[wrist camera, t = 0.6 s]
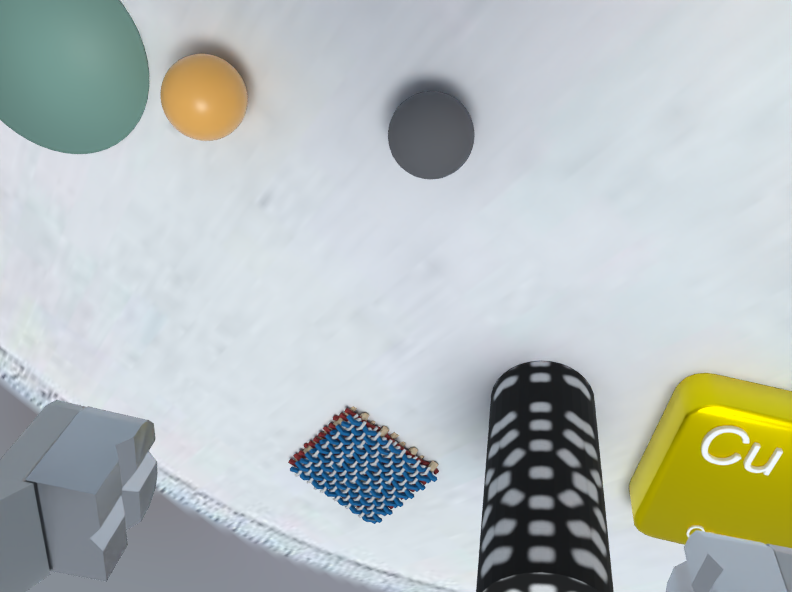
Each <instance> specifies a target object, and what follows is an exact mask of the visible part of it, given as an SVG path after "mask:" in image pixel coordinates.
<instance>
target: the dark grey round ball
mask: <svg viewBox="0 0 792 592" xmlns="http://www.w3.org/2000/svg"><path fill="white" fill-rule="evenodd" d="M388 140H389V146H390V150H391V153H392V155H393V157H394V158H395V160H396V161H397V163H398V164H399V165H400V166H401V167H402V168H403V169H404V170H405V171H407V172H408V173H410V174H412V175H414V176H416V177H419V178H423V179H439V178H443V177H446V176H448V175H450V174H452V173H454V172H455V171H457V170H458V169H459V168H460V167H461V166H462V165H463V164H464V163H465V161H466V160H467V159H468V157H469V155H470V153H471V150H472V147H473V144H474V126H473V122H472V119H471V117H470V115H469V113H468V111H467V110H466V108H465V107H464V106H463V105H462V104H461V103H460V102H459V101H458V100H457V99H455V98H454V97H452V96H450V95H448V94H445V93H442V92H436V91H427V92H421V93H418V94H415V95H413V96H411V97H410V98H408V99H406V100H405V101H404V102H403V103H402V104H401V105H400V106H399V107H398V108H397V110H396V111H395V113H394V114H393V116H392V119H391V122H390V125H389V130H388Z"/></svg>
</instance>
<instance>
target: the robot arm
mask: <svg viewBox="0 0 792 592" xmlns="http://www.w3.org/2000/svg"><path fill="white" fill-rule="evenodd" d="M154 441H155V432H154V423H152V422H150V421H149V420H145V419H141V418H136V417H132V416H128V415H123V414H119V413H114V412H110V411H106V410H101V409H97V408H93V407H85V406H81V405H76V404H72V403H68V402H63V401H59V400H56V401H54V402H52V403H50V404H48V405H46V406H45V407H44V409H43V410H42V411H41V412H40V413H39V414H38V416H37V417H36V418H35V419H34V420H33V422H32V423H31V424H30V425H29V426H28V427H27V428H26V430H25V431H24V432H23V433H22V434H21V435H20V437H19V438H18V439H17V440H16V441H15V443H14V444H13V445H12V446H11V447H10V448H9V450H8V451H7V452H6V453H5V454H4V455H3V456H2V458H1V459H0V592H26V591H27V590H29V589H30V588H32V587H33V586H35V585H36V584H37V583H39V582H40V581H42V580H43V579H45V578H46V577H47V576H49V575H50V571H53V572H59V573H64V574H69V575H74V576H79V577H86V578H90V579H96V580H101V581H107V580H108V578H109V577H110V575H111V573H112V571H113V570H114V568H115V566H116V564H117V563H118V561H119V559H120V558H121V556H122V554H123V552H124V551H125V549H126V547H127V545H128V544H127V532H126V530H127V529H129V528H131V527H132V526H134V525H136V524H138V523H139V522H141V521H142V519H143V517H144V515H145V513H146V511H147V510H148V508H149V506H150V503H151V500H152V497H153V494H154V491H155V488H156V480H157V461H156V460H155V458H154V457H153V456H152V455H151V453H150V452H149V449H150V448H151V446H152V444H153V443H154ZM684 550H685V555H686V560H687V561H685V562H683V563H681V564H679V565H677V566H675V567H674V568H673V571H672V573H671V575H670V578H669V580H668V582H667V588H666V592H792V548H788V547H782V546H777V545H772V544H764V543H761V542H756V541H751V540H746V539H740V538H735V537H730V536H725V535H719V534H714V533H709V532H704V531H699V530H696V531H695V532H693V533H692V534H691V535H690V536H689V538H688V540H687V542H686V544H685V546H684Z"/></svg>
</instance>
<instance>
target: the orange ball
mask: <svg viewBox="0 0 792 592" xmlns="http://www.w3.org/2000/svg"><path fill="white" fill-rule="evenodd" d="M247 102H248V98H247V90H246V87H245V84H244V81H243V79H242V77H241V76H240V74H239V73H238V72H237V70H236V69H235V68H234V67H233V66H232V65H231V64H229V63H228V62H227V61H225V60H223V59H221V58H220V57H217V56H214V55H209V54H194V55H189V56H186V57H184V58H182V59H180V60H178V61H177V62H176V63H175V64H174V65H172V67H171V68H170V69H169V70H168V72H167V73H166V75H165V77H164V79H163V82H162V86H161V103H162V107H163V110H164V113H165V115H166V117H167V118H168V120H169V122H170V123H171V124H172V125H173V126H174V127H175V128H176V129H177V130H178V131H179V132H181V133H182V134H184V135H186V136H188V137H190V138H193V139H196V140H201V141H212V140H218V139H221V138H223V137H225V136H227V135H229V134H230V133H232V132H233V131H234V130H235V129H236V128H237V127H238V126H239V125H240V123H241V122H242V120H243V118H244V116H245V113H246V110H247Z"/></svg>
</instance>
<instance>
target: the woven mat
mask: <svg viewBox="0 0 792 592" xmlns="http://www.w3.org/2000/svg"><path fill="white" fill-rule="evenodd" d="M356 409H357V408H355V407H354V406H353V407H351V408H350V409H348V408H346V409H345V411H344V412H345V413H341V414H340V415H339V416H334V417H333V420H335V422H334V423H330V424H329V426H328V427H326V426H325V427H324V428H323V429H324V430H325V431H324V432H323V433H322V432H320V433H319V434H318V437H315V438H314V439H313V442H312V441H310V442H309V443H305V444H304V448H305V449H304V450H303V451H302V450H300V451H299V453H298V454H297V453H296V454H295V455H293V456H294V457H295V460H293V459H290V460H289V462H288V463H290V464H291V465H293V466H294V467H291V468H290V471H292V472H295V473H296V474H295V476H299V475H300V478H301V479H303V480H309V481H307V483H311V484H312V485H313V486H314V489H315V490H316V489H323V490H320V492H324V493H325V495H327V496H328V497H335V498H334V499H333V500H334V501H338V503H339V504H340V505H342V506H343V505H347V506H345V508H346V509H348V508H349V509H350V510H351V511H352V513H354V514H359V515H358V516H359V517H360V518H361V517H362V519H363V520H364V521H366V522H372V523H374V524H375V523H376V522H379V523H380V522H381V521H382V518H380V517H379V516H378V515H377V514H382V515H384V516H386V515H387V514H389V515H391V514H392V510H390V509H392V508H393V507H394V508H396V507H397V506H400V507H401V506H403V502H401V501H400V500H399V498H401V500H402V499H403V498H404V499H405V500H407V499H408V498H411V499H412V498H413V497H414V494H412V493H411V492H410V491H412V492H414V491H416V492H417V491H419V490H420V489H421V490H424V489H425V486H424V485H425V484H426V482H427V483H429V482H431V480H432V481H434V482H435V481H436V480H437V477H435V476H434V475H433V474H432V472H434V474H435V475H436V474H437V473H438V472H439V471H438V469H437V468H436V467H437V466H438V464H437V463H436V462H434V461H432V462H431V463H429V462H428V461H423V460H422V459H423V458H424V456H423V455H422V456H419V457H417V456H415V455H416V453H417V451H418V449H416V448H414V447H412V448H410V449H409V450H408V451H407V450H406V449H405V448H404V446H405V442H399V443H397V442H396V441H395V440H394V439H396V438H397V437H398V436H399V435H398V434H396V433H395V432H394V433H392V434H391V435H390V436H389V435H388V433H387V432H388V431H389V429H388V428H387V427H385V426H383V427H382V428H380V427H378V426H374V424H375V421H372V422H371V423H369V422H368V421H366V420H367V419H368V417H369V415H368V414H367V413H361V414H360V416H359V415H358V414H356V413H354V412H355V411H356ZM354 419H355V420H354ZM344 428H345V429H344ZM343 429H344V430H343ZM384 448H386V449H384ZM312 453H313V454H312ZM323 455H324V456H323ZM359 455H360V456H359ZM382 456H383V457H382ZM303 457H304V458H305V459H304V458H303ZM371 462H372V463H371ZM296 467H297V468H296ZM372 472H373V473H372ZM338 473H339V474H338ZM308 475H310V476H308ZM384 480H385V481H384ZM328 481H330V482H328ZM317 482H318V483H317ZM350 482H351V483H350ZM420 482H421V483H422V484H423V485H422V484H421V483H420ZM365 484H366V485H365ZM411 484H412V485H411ZM328 489H329V490H328ZM340 490H342V491H340ZM386 490H388V491H386ZM409 490H410V491H409ZM366 492H369V493H366ZM341 497H342V498H341ZM387 506H388V507H389V508H390V509H389V508H388V507H387ZM355 507H356V508H355ZM381 509H382V510H381Z"/></svg>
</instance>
